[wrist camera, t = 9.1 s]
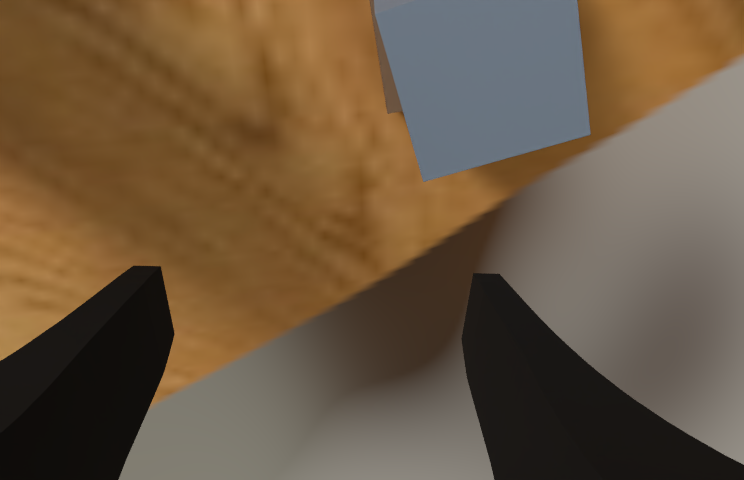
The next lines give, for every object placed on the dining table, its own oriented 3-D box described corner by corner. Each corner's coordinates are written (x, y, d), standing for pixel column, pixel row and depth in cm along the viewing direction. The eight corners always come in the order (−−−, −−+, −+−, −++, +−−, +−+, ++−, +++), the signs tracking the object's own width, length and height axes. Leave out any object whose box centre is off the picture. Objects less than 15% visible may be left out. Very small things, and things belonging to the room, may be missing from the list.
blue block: (410, 118, 17) (423, 182, 13) (372, -16, 15) (374, 13, 11) (538, 80, 16) (590, 134, 12) (517, -65, 14) (572, -53, 10)
